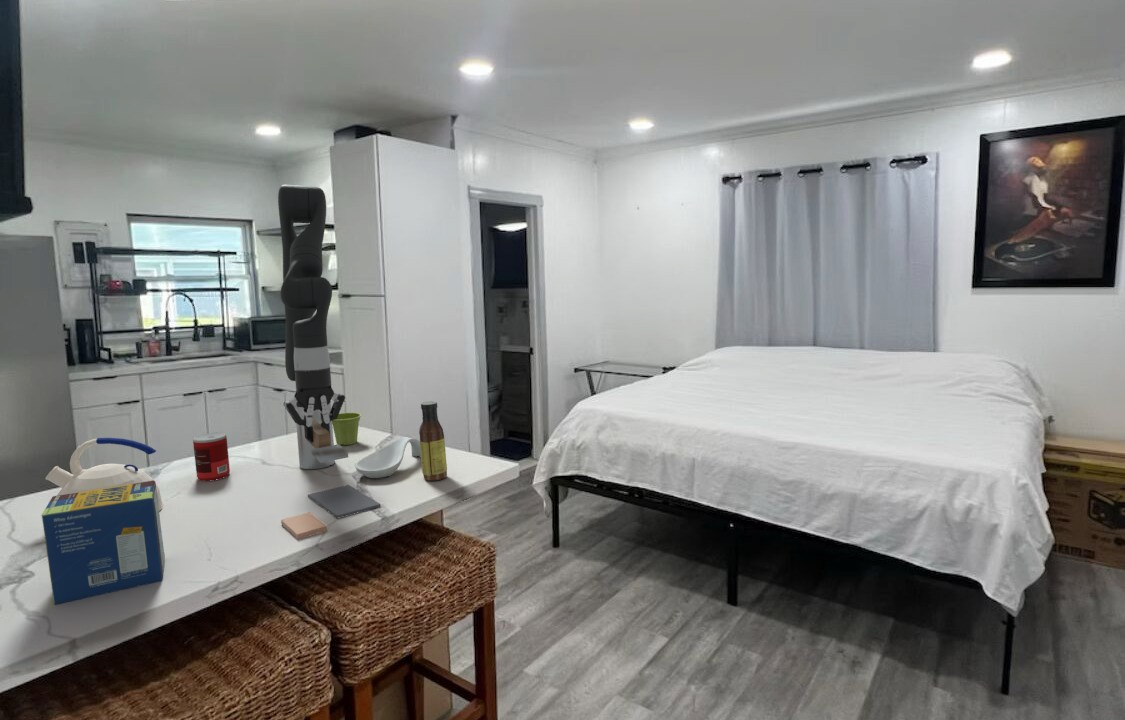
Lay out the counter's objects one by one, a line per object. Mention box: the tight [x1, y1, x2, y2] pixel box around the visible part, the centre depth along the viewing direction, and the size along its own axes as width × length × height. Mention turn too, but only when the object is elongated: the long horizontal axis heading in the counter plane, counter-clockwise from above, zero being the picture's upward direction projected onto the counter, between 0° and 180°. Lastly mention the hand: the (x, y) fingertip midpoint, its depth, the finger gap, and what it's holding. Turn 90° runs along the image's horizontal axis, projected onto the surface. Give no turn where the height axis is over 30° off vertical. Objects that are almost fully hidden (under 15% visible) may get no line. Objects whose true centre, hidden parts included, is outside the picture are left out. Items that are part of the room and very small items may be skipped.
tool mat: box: [307, 484, 381, 519], centre depth 146 cm, size 18×10×1 cm, turn 41°
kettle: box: [45, 437, 164, 512], centre depth 139 cm, size 20×21×18 cm
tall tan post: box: [304, 420, 349, 463], centre depth 142 cm, size 16×6×4 cm, turn 39°
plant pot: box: [332, 412, 362, 446], centre depth 196 cm, size 9×9×9 cm
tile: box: [280, 512, 328, 540], centre depth 132 cm, size 2×6×10 cm
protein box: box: [40, 479, 166, 605], centre depth 109 cm, size 10×15×16 cm
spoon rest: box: [354, 436, 421, 479], centre depth 170 cm, size 24×12×7 cm, turn 158°
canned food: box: [192, 432, 231, 482], centre depth 165 cm, size 8×8×11 cm
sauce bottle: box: [418, 400, 448, 482], centre depth 161 cm, size 7×6×20 cm
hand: (317, 439), depth 145 cm, fingers closed on tall tan post, 2 cm apart
